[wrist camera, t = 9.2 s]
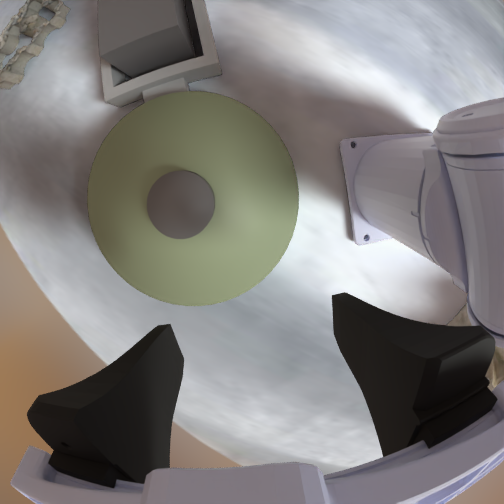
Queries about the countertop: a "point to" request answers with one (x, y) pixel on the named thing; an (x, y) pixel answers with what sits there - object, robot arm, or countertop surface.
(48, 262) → the countertop surface
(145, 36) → the grey block with ledge
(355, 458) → the countertop surface
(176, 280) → the green disc with bracket
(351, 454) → the countertop surface
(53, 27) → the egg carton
